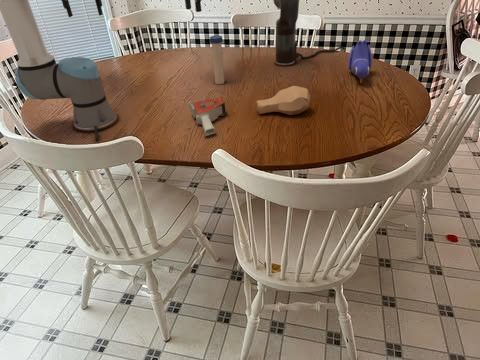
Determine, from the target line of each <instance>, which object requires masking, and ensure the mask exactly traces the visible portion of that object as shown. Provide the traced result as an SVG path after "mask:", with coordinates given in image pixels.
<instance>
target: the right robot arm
mask: <svg viewBox="0 0 480 360" xmlns="http://www.w3.org/2000/svg"><path fill="white" fill-rule="evenodd" d="M191 1H192V0H184V4H185V5H184V6H185V9H186V10H191V9H192V3H191ZM272 1H273V4H274V6H275V7H276V8H277V9H278V10H280V11H279V13H280V14H279V18H277V19H276V21H275V65H277V66H282V67H287V66H293V65H294V64H295V63H296V62H297V59H299V58H301V60H302V59H303V60H306V59H307V60H308V59H311V58H312V57H315V56H316V55H318V54H320V53H332V52H336V51H338V50H340V49H341V50H346V47H344V46H338V47H336V48H334V49H321V50H317V51H316V52H315V53H312V54H310V55H307V56H303V54H301V53H300V52H298V51H297V48H298V47H297V46H298V45H297V44H298V43H297V41H296V31H297V30H296V29H297V21H298V18H299V10H300V0H272ZM201 2H202V0H194V6H195V12H196V13H201V12H202V4H201Z"/></svg>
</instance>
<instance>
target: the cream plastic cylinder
mask: <svg viewBox="0 0 480 360" xmlns="http://www.w3.org/2000/svg"><path fill="white" fill-rule="evenodd" d="M211 52H212V61H213V62H212V63H213V64H212V65H213V72H214V82H215V84H216V85H223V84H225V71H224V59H223V46H222V42H221V43H211Z"/></svg>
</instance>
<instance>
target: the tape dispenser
mask: <svg viewBox="0 0 480 360" xmlns="http://www.w3.org/2000/svg"><path fill="white" fill-rule="evenodd" d="M207 103H213V104H210V105H208V106H206V104H207ZM188 106H189V111H190V113H191V114H192V116H193V118H194V119H195V120H196V123H197V124H198V125H202V128H203V134H204V136H205V137H206V136H207V137H208V136H211V135H214V134H215V133H216V127H214V125H213V123H212V122H213V121H216V120H217V119H218V117H219V116H220V117H221V116H224V115H225V114H226V103H225V100H224V98H223V97H215V98H210V99H205V100H199V101H189V102H188Z"/></svg>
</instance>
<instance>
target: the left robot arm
mask: <svg viewBox="0 0 480 360" xmlns="http://www.w3.org/2000/svg"><path fill="white" fill-rule="evenodd" d="M60 1H61V3H62V6H63V8H64V9H65V10H66V13H67V16H68V18H71V17H73V16H74V15H73V12H72V8H71V5H70V2H69V0H60ZM94 2H95V5H96V9H97V12H98V16H102V15H103V13H104V12H103V9H102V7H103V1H102V0H94ZM0 14H1V17H2V18H3V21H4V24H5V26H6V29H7V30H8V33H9V35H10V38H11V41H12V43H13V45H14V48H15V50H16V52H17V55H18V57H19V59H18V60H17V62H16V65H17V67H16V68H15V70H14V76H15V77H14V80H15V84H16V86H17V87H18V89H19V90H20V92H21V94H23V95H24V96H25V97H26V98H29V99H31V100H41V101H44V100H45V101H47V100H59V99H69V100H70V101H71V104H72V108H73V114H72V117H73V118H72V119H73V125H74V128H75V129H76V131H78V132H84V133H92V132H94V136H95V141H98V140H99V133H98V132H99V131H102V130H105V129H107V128H110V127H111V126H113V125H115V124H116V122H117V121H118V116H117V113H116V111H115V110H114V108H113V107H112V105H111V103H110V102H109V101H108V99H107V96H106V92H105V89H104V87H103V86H104V85H103V83H102V79H101V73H100V71H99V69H98V66H97V64H96V62H95V61H94V60H92V59H90V58H88V57H84V56H83V57H82V56H70V57H65V58H62V59H60V60H59V61H58V63H57V61H56V59H55V56H54V55H53V54H51V53H49V52H48V51H47V47H46V45H45V42H44V39H43V36H42V34H41V31H40V28H39V26H38V23H37V20H36V18H35V14H34V12H33V9H32V6H31V3H30V1H29V0H0Z"/></svg>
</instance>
